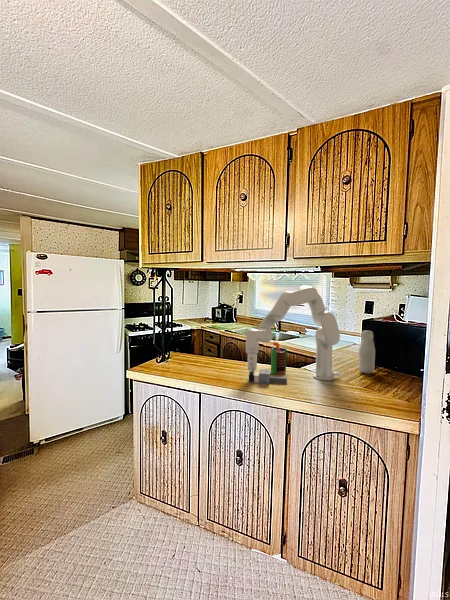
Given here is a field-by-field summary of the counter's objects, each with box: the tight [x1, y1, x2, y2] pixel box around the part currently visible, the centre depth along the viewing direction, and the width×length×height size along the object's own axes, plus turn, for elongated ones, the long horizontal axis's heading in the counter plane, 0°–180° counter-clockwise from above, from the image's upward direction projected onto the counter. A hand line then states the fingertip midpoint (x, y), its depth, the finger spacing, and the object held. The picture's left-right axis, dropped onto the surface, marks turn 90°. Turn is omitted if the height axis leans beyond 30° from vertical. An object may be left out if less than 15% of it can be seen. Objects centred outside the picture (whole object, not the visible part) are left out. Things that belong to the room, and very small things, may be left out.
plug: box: [253, 373, 288, 385], centre depth 196 cm, size 22×4×4 cm, turn 82°
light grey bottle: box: [358, 330, 376, 375], centre depth 216 cm, size 10×10×28 cm
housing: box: [258, 368, 271, 386], centre depth 196 cm, size 6×10×6 cm, turn 172°
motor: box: [270, 341, 288, 376], centre depth 215 cm, size 10×9×20 cm
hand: (251, 380), depth 198 cm, fingers closed on plug, 4 cm apart
